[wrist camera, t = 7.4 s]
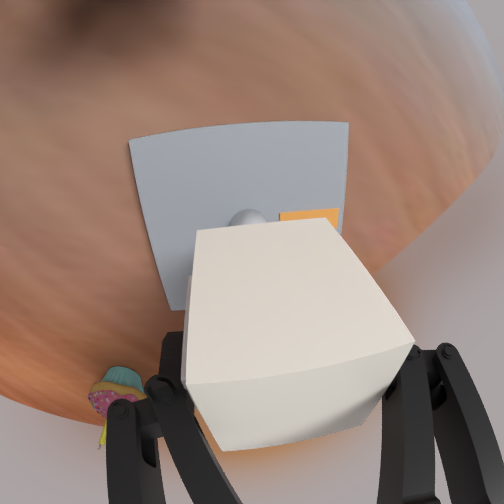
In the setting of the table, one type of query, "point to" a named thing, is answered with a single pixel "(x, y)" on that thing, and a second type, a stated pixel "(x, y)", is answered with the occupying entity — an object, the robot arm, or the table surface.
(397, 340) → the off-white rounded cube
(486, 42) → the table surface
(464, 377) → the robot arm
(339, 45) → the table surface
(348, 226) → the table surface
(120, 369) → the cupcake
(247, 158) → the post base
